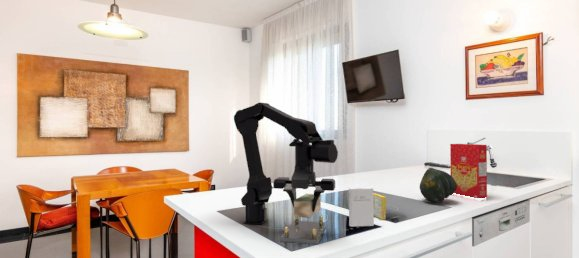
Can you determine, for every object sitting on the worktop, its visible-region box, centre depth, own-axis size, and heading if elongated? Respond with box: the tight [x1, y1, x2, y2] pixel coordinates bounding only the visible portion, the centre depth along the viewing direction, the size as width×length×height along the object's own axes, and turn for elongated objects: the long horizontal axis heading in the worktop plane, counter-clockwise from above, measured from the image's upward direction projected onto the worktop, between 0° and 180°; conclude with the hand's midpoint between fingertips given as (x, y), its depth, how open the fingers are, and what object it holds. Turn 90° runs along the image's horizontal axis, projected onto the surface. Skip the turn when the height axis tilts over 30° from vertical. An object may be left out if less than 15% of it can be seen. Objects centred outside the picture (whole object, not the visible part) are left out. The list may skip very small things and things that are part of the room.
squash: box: [419, 167, 457, 203], centre depth 143 cm, size 14×15×15 cm
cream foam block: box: [293, 193, 322, 219], centre depth 104 cm, size 5×11×5 cm, turn 157°
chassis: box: [279, 215, 327, 245], centre depth 101 cm, size 11×18×4 cm, turn 167°
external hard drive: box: [348, 187, 375, 228], centre depth 109 cm, size 2×8×12 cm, turn 96°
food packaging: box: [449, 143, 488, 198], centre depth 153 cm, size 15×5×25 cm, turn 23°
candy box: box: [373, 192, 387, 221], centre depth 124 cm, size 16×2×8 cm, turn 14°
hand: (304, 211), depth 101 cm, fingers closed on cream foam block, 5 cm apart
